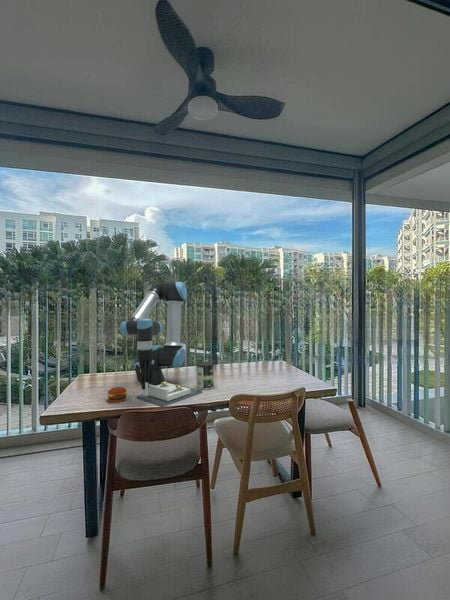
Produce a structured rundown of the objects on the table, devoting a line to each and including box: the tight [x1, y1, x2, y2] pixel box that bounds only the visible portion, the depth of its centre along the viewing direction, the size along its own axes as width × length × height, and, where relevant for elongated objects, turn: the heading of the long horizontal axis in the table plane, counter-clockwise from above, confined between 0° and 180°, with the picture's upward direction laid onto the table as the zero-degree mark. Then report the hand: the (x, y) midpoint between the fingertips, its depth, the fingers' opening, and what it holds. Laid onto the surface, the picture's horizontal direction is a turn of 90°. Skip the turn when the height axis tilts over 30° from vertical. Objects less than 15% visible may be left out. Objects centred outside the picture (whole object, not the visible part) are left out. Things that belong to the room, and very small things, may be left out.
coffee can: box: [195, 361, 215, 391], centre depth 182 cm, size 10×10×14 cm
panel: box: [148, 382, 191, 401], centre depth 166 cm, size 20×16×5 cm
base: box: [136, 380, 203, 408], centre depth 168 cm, size 22×28×6 cm
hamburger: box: [106, 386, 128, 404], centre depth 162 cm, size 9×10×7 cm
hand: (145, 395), depth 155 cm, fingers closed
